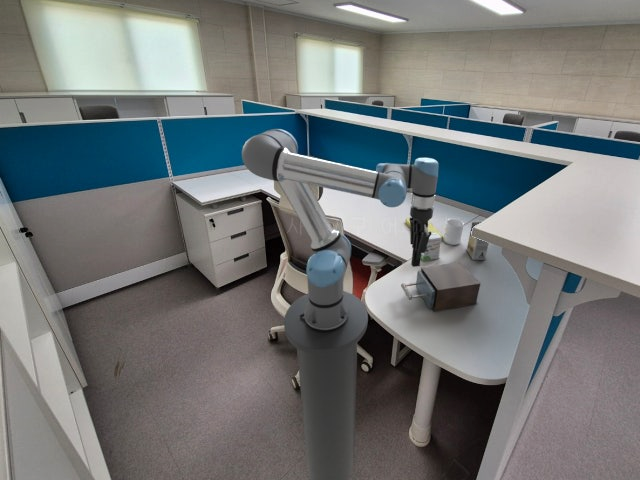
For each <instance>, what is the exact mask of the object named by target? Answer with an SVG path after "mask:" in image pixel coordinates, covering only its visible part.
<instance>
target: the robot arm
mask: <svg viewBox="0 0 640 480" xmlns="http://www.w3.org/2000/svg"><path fill="white" fill-rule="evenodd" d="M241 149H242V150H241V159H242V162H243V164H244V166H245V167H246V169H247V170H248V171H249V172H250V173H251V174H253V175H255V176H257V177H260V178H263V179H266V180H270V181H274V182H277V184H278V185H279V187H280V189H281V191H282V192H283V194H284V196H285V197H286V199H287V200H288V202H289V204H290V206H291V207H292V209H293V211H294V213H295V214H296V216H297V218H298V219H299V222H300V224H301V225H302V227H303V228H304V230H305V231H306V233H307V235H308V236H309V238H310V244H309V246H310V249H311V251H312V252H313V254H312V255H311V256H310V257H309V258H308V260H307V263H306V268H305V269H306V279H307V280H306V281H307V294H308V296H309V300H308V303H307V306H306V308H305V312H304V313H303V314H301V315H300V318H301V317H303V316H304V319H305V323H306V324H307V326H308V327H309V328H311V329H312V330H314V331H318V332H331V331H335V330H337V329H339V328H341V327H342V326H343V325H344V324H345V323H346V322H347V320H348V312H349V311H348V307H347V304H346V302H345V300H344V297H343V291H344V281H345V280H344V279H345V275H346V271H347V268H348V265H349V262H350V259H351V257H352V244H351V241H350V240H349V238H347V237H346V235H344V234H341V232H340V231H339V229H336V228H333V226H332V224H331V222H330V220H329V219H328V217H327V215H326V214H325V212H324V209H323V208H322V206H321V204H320V201H319V200H318V199H317V196H316V195H315V193H314V191H313V189H312V187H311V186H315V187H319V188H325V189H328V190H332V191H333V190H334V191H337V192H343V193H346V194H352V195H356V196H361V197H365V198H370V199H374V200H379V202H380V203H381V204H382V205H383V206H385V207H386V208H387V207H388V208H398V207H399V206H401V205H402V204H403V203H404V202H405V200H406V198H407V193H408V189H412V190H411V197H410V210H409V216H410V217H409V219H410V227H409V232H410V233H409V234H410V235H409V237H410V238H409V239H410V241H409V243H410V245H411V248H412V254H411V264H410V266H411V267H412V268H416V267H420V266H421V260H422V259H421V253H425V251H426V247H427V244H428V240H429V237H430V236H431V232H428V229H427V228H428V221H429V222H430V220H431V219H432V218H433V215H434V206H435V199H436V197H437V196H436V190H437V185H438V177H439V167H440V166H439V165H440V164H439V162H438V161H437V160H436V159H435V158H431V157H418V158H416V159H415V160H414V163H413V164H402V163H390V162H385V163H382V162H381V163H378V164H376V168H375V169H376V170H371V169H366V168H362V167H357V166H352V165H349V164H344V163H340V162H335V161H329V160H326V159H322V158H321V159H320V158H316V157H311V156H307V155H302V154H298V152H299V145H298V142H297V140H296V138H295V137H294V136H293V134H292V133H290V132H288V131H287V130H284V129H281V128H273V129H267V130H266V131H263V132H262V133H259V134H257V135H253V136H251V137H250V138H248V139H247V140H246V141H245V143H244V145H242V148H241Z"/></svg>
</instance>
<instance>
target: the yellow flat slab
mask: <svg viewBox="0 0 640 480" xmlns="http://www.w3.org/2000/svg"><path fill="white" fill-rule="evenodd" d="M405 224H406V225H407V227H409V228H410V218H405ZM427 229H428V232H431V233H437V234H438V235H440V236H441V237H442V239H441V241H444V235H443V234H442V233H441V232H440V231H439V230H438V229H437V228H436V227H435V226H434V225H433V224H432V223H431V222H430V220H429V221H428V228H427Z"/></svg>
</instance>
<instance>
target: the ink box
mask: <svg viewBox="0 0 640 480" xmlns="http://www.w3.org/2000/svg"><path fill="white" fill-rule="evenodd" d="M441 239H442V237H441V236H440V235H438V234H437V233H431V236H430V237H429V240H428V244H427V247H426V251H425V253H421V260H422V261H423V262H426V261H430V260H437V259H439V257H440V250H441V244H442V240H441Z"/></svg>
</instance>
